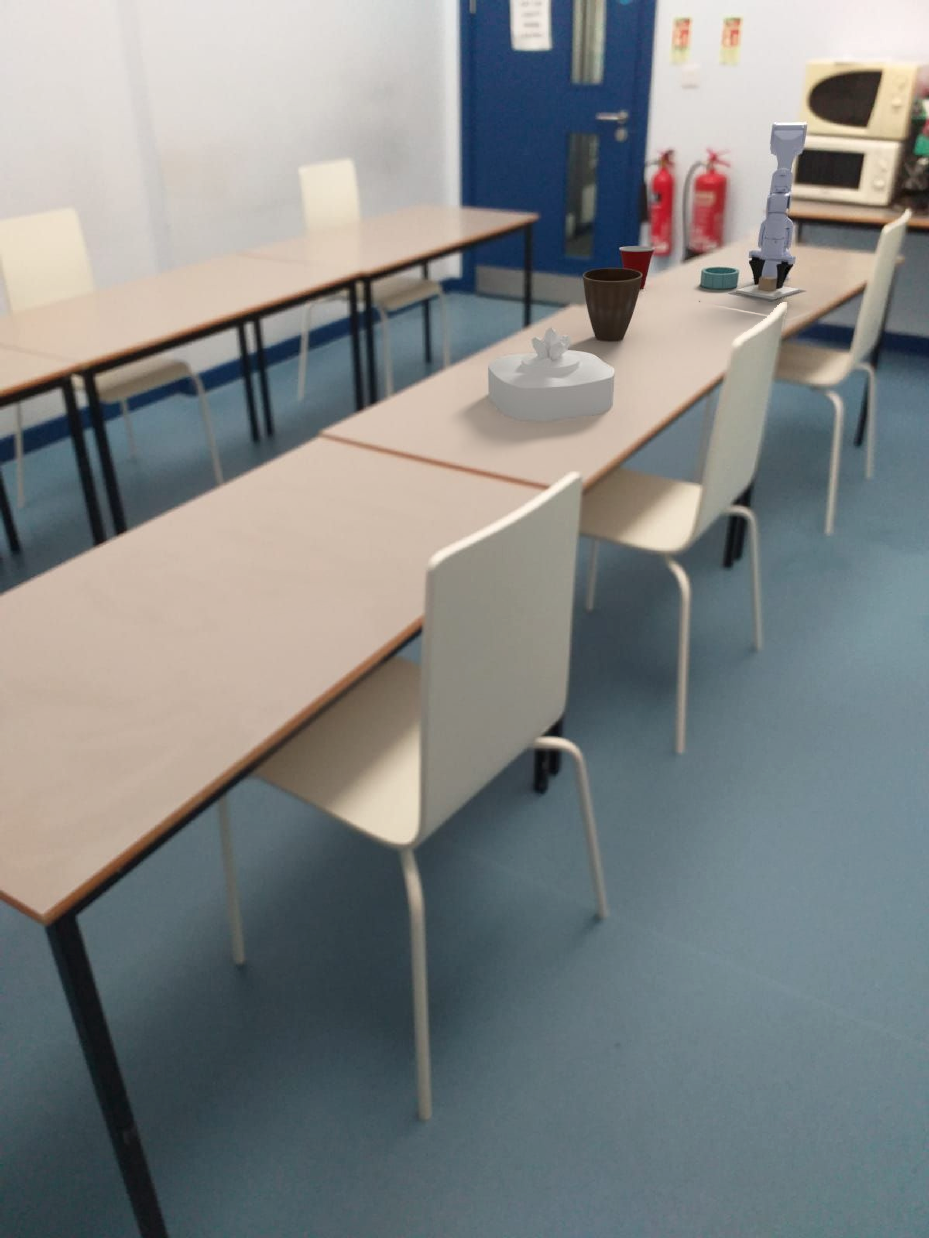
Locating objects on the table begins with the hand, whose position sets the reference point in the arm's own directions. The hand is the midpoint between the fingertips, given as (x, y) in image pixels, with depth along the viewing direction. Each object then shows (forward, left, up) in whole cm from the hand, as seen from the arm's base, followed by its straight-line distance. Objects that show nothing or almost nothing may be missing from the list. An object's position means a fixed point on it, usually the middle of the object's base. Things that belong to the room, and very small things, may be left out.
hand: (768, 286), depth 287 cm
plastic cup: (+19, -35, -2) cm, 40 cm away
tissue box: (+113, +22, -3) cm, 115 cm away
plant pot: (+67, -2, -2) cm, 67 cm away
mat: (0, 0, -2) cm, 2 cm away
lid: (0, 0, -2) cm, 2 cm away
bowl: (+2, -16, -2) cm, 16 cm away
